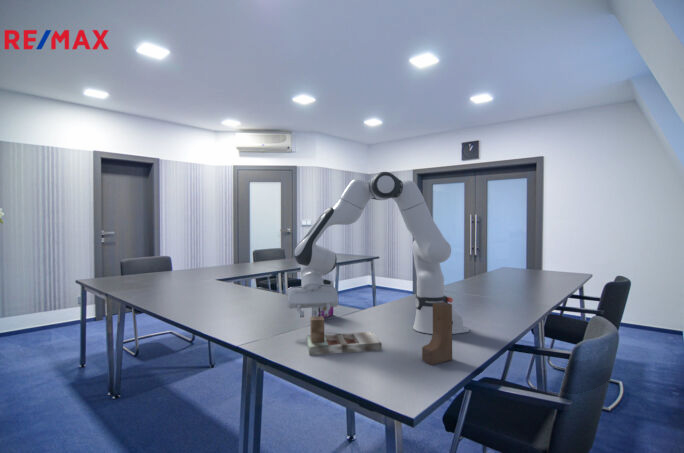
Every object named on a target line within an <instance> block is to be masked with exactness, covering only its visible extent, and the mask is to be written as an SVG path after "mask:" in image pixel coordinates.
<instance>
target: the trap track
mask: <svg viewBox="0 0 684 453" xmlns="http://www.w3.org/2000/svg"><path fill="white" fill-rule="evenodd" d="M306 345H307V349H308V355H309V356H316V355H327V354H328V355H330V354H345V353H360V352H361V351H362V352H376V351H382V342H381V341H380V339H379V338H378V337H377V336H376V334H374V332H373V331H365V332H364V331H363V332H343V333H331V334H330V333H329V334H327V333H326V334H325V333H324V342H323V343H311V334H308V335H306Z"/></svg>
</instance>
